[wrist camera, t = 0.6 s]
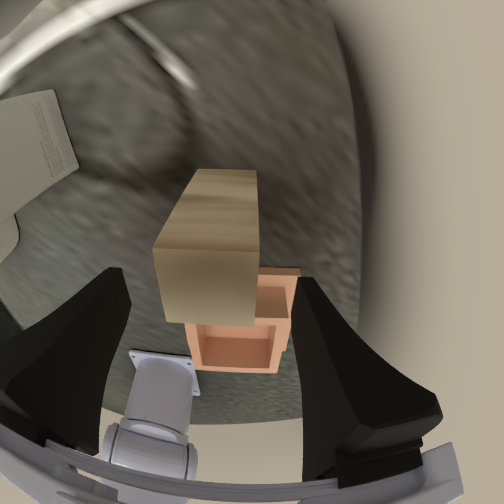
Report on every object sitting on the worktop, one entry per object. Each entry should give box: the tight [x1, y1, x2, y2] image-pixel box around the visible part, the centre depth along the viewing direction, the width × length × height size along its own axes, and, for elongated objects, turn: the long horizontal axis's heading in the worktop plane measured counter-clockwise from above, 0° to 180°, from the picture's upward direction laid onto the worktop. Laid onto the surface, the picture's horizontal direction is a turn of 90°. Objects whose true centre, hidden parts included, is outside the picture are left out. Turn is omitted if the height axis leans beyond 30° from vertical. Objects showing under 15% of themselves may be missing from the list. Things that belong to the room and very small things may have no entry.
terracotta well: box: [184, 267, 301, 373], centre depth 24 cm, size 10×10×4 cm
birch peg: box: [152, 169, 260, 327], centre depth 15 cm, size 4×4×10 cm
